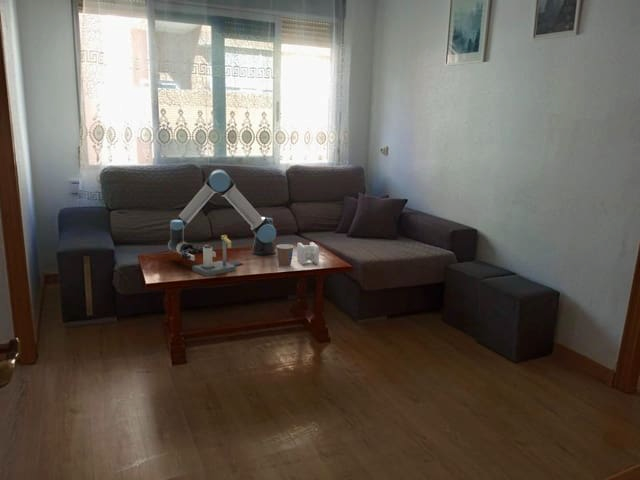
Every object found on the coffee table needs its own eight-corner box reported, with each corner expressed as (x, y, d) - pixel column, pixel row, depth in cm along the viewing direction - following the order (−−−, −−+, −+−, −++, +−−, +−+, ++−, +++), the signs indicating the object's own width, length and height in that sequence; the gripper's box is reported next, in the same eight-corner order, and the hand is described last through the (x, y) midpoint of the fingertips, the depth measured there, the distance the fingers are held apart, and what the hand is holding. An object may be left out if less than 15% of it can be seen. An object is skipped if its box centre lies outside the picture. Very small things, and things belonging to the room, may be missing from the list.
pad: (235, 261, 308) (235, 260, 308) (243, 264, 303) (243, 263, 303) (224, 263, 303) (224, 262, 303) (231, 266, 297) (231, 265, 297)
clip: (220, 241, 291) (220, 235, 291) (226, 241, 293) (226, 235, 292) (226, 248, 277) (226, 241, 276) (232, 247, 278) (232, 240, 278)
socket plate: (220, 264, 301) (220, 236, 297) (235, 270, 290) (235, 241, 287) (192, 270, 288) (191, 240, 284) (206, 276, 277) (206, 245, 274)
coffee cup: (290, 268, 298) (291, 248, 295) (273, 267, 299) (274, 247, 297) (295, 264, 307) (295, 244, 305) (278, 262, 309) (279, 243, 307)
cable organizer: (296, 259, 318) (296, 241, 315) (312, 259, 321) (313, 241, 318) (302, 266, 304) (303, 247, 301) (319, 265, 307) (320, 246, 304)
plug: (209, 269, 290) (209, 243, 287) (215, 271, 286) (215, 245, 283) (200, 271, 286) (200, 245, 283) (206, 273, 282) (205, 247, 279)
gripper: (204, 252, 310) (223, 259, 295) (166, 258, 293) (185, 266, 278) (204, 240, 308) (223, 246, 293) (165, 245, 291) (184, 253, 276)
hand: (204, 256), depth 286 cm, fingers open, 13 cm apart
